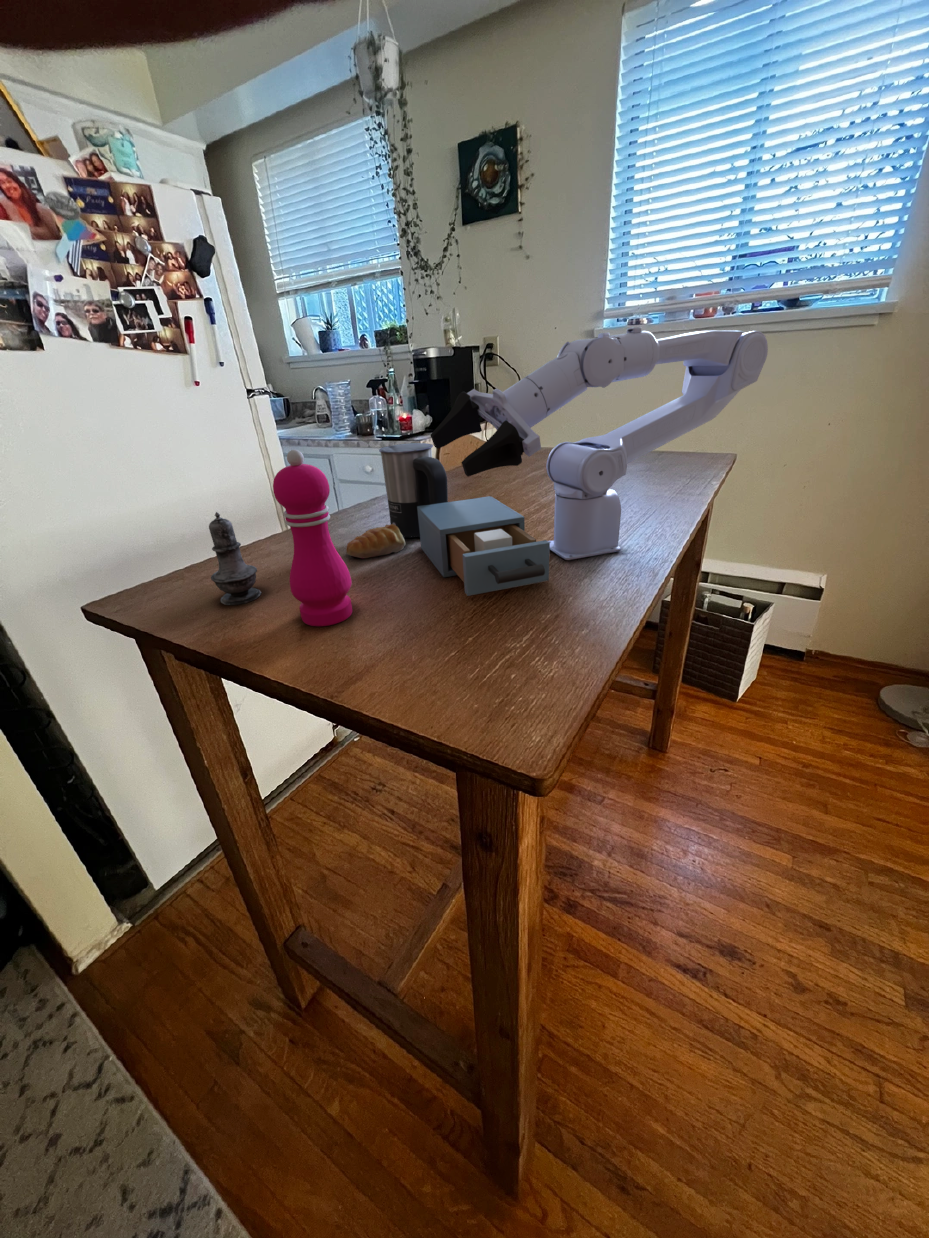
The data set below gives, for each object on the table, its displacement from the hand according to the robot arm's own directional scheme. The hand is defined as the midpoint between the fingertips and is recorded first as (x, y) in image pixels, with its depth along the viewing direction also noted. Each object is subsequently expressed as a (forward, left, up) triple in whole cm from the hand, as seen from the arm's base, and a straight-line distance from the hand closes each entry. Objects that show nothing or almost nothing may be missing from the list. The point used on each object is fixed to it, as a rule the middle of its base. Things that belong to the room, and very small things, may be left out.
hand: (448, 455), depth 64 cm
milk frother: (-3, -24, -17) cm, 30 cm away
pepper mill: (+19, +5, -17) cm, 26 cm away
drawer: (-4, +5, -16) cm, 17 cm away
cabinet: (-4, -7, -17) cm, 19 cm away
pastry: (+9, -16, -17) cm, 25 cm away
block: (-4, +3, -15) cm, 16 cm away
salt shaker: (+30, -6, -17) cm, 35 cm away
